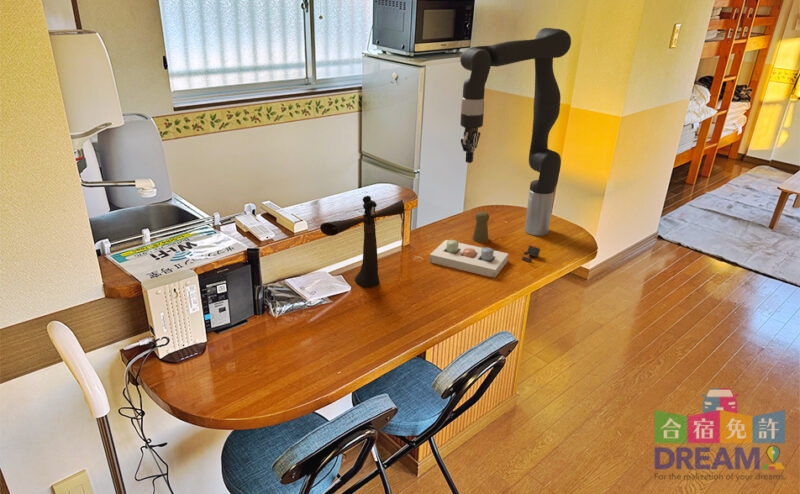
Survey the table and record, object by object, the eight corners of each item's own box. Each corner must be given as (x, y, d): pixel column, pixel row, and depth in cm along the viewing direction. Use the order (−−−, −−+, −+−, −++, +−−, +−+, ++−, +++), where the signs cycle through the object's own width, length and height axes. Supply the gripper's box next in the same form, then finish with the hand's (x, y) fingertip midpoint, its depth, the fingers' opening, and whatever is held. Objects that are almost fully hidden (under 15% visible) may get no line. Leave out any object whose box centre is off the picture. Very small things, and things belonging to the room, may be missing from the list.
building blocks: (540, 249, 197) (532, 246, 191) (535, 263, 197) (527, 261, 191) (532, 246, 199) (524, 243, 192) (527, 260, 199) (519, 258, 193)
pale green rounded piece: (448, 249, 198) (449, 239, 196) (459, 251, 196) (460, 241, 194) (444, 253, 194) (444, 243, 193) (455, 256, 193) (455, 245, 191)
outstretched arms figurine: (334, 303, 167) (330, 211, 154) (317, 290, 174) (312, 202, 161) (411, 272, 186) (413, 188, 173) (393, 262, 192) (394, 180, 179)
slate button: (482, 256, 192) (483, 246, 191) (494, 259, 191) (495, 249, 189) (478, 261, 189) (479, 251, 187) (490, 264, 187) (491, 253, 185)
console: (445, 247, 204) (445, 239, 203) (507, 261, 194) (508, 253, 193) (429, 262, 193) (429, 254, 191) (494, 277, 183) (495, 269, 181)
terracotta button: (465, 257, 196) (466, 247, 194) (476, 259, 194) (477, 249, 192) (460, 262, 192) (461, 251, 191) (472, 264, 191) (472, 254, 189)
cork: (469, 237, 212) (471, 211, 207) (482, 234, 214) (484, 208, 209) (477, 243, 207) (480, 216, 202) (491, 240, 209) (493, 214, 205)
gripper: (468, 107, 189) (466, 156, 196) (454, 114, 178) (451, 165, 186) (489, 109, 186) (485, 158, 193) (476, 116, 175) (472, 168, 183)
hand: (469, 162), depth 190 cm, fingers closed
